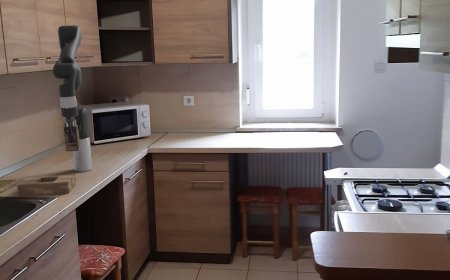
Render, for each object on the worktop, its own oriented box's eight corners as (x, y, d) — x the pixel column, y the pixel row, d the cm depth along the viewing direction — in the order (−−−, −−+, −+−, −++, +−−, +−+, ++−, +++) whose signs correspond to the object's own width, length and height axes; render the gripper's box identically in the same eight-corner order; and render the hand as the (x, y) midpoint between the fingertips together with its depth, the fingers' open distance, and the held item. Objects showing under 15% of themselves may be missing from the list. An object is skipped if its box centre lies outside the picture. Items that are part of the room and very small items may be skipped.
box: (80, 149, 233) (78, 124, 230) (78, 151, 228) (76, 126, 226) (68, 149, 232) (65, 125, 230) (65, 151, 228) (63, 127, 225)
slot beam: (28, 187, 227) (27, 177, 226) (76, 184, 228) (75, 174, 227) (18, 196, 213) (17, 185, 212) (68, 193, 214) (67, 182, 214)
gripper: (64, 104, 233) (68, 139, 236) (56, 108, 219) (60, 145, 222) (80, 103, 233) (83, 138, 237) (73, 107, 219) (77, 144, 223)
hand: (72, 141), depth 229 cm, fingers closed on box, 4 cm apart
